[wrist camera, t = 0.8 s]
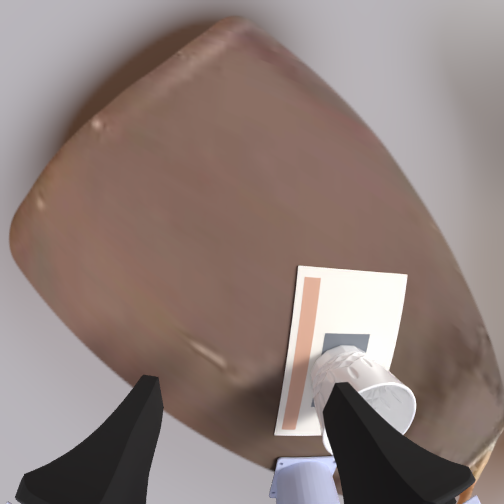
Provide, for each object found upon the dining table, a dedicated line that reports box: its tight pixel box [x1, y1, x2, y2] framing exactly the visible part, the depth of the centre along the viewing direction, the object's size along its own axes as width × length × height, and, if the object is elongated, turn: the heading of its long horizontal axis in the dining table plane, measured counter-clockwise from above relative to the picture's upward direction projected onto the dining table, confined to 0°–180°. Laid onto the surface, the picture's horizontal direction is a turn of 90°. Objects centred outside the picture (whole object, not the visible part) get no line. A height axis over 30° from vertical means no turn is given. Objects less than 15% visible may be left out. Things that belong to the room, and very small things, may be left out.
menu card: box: [274, 266, 407, 436], centre depth 26 cm, size 20×12×1 cm, turn 175°
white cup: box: [310, 345, 416, 455], centre depth 21 cm, size 8×8×10 cm
